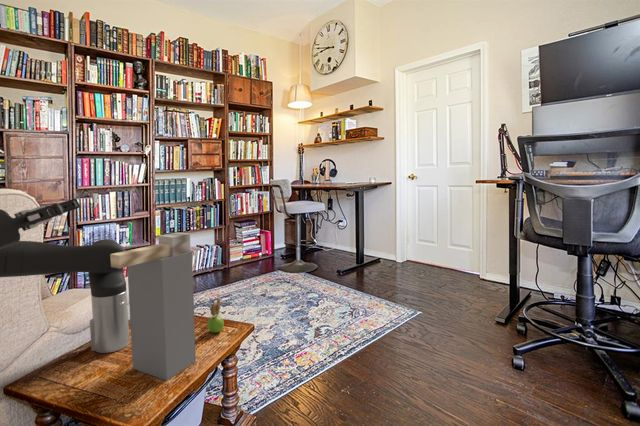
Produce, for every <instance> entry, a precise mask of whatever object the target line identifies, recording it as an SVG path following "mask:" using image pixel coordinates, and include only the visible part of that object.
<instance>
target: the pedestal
mask: <svg viewBox="0 0 640 426" xmlns="http://www.w3.org/2000/svg"><path fill="white" fill-rule="evenodd" d="M193 267H194V266H193V251H191V252H187V253H183V254H180V255H176V256H167V257H163V258H160V259H156V260H152V261H148V262H144V263H140V264H136V265H132V266H128V267H126V268H127V283H128V284H127V286H128V301H129V325H130V339H131V358H132V359H131V361H132V369H133V370H135V371H139V372H142V373H144V374H148V375H150V376H153V377H156V378H158V379H162V380H164V381H168V380H169V381H170V379H172V378H173V377H175V376H177V375H178V374H179V373H181V372H183V371H184V370H185V369H187V368H189V367H190V366H192V365H193V364H195V363H196V362H197V361H196V360H197V359H196V354H197V353H196V334H195V333H196V331H195V329H196V328H195V327H196V326H195V301H194V300H195V299H194V298H195V297H194V273H193V272H194V270H193Z"/></svg>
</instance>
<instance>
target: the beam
mask: <svg viewBox="0 0 640 426" xmlns="http://www.w3.org/2000/svg"><path fill="white" fill-rule="evenodd" d="M187 252H192V251H191V234H190V233H186V232H178V231H177V232H171V233H165V234H160V235H158V244H153V245H149V246H143V247H139V248H138V247H137V248H135V249H134V248H133V249H129V250H125V251H123V252H118V253H114V254H110V258H111V267H114V268H119V269H120V268H123V269H124V268H127V267H128V266H132V265H136V264H140V263H144V262H148V261H152V260H156V259H160V258H163V257H167V256H176V255H180V254H183V253H187Z"/></svg>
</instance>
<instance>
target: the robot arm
mask: <svg viewBox="0 0 640 426" xmlns="http://www.w3.org/2000/svg"><path fill="white" fill-rule="evenodd" d="M80 207H81V206H80V203H79V201H78V199H76V198H72V199H69V200H66V201H63V202H60V203H58V202H54V203H52V204H51V205H48V206H45V205H41V206H37V207H34V208H31V209H24V210H21V211H19V212H16V213H14V214H13V215H14V217H12V216H11V215H10V214H9V213H8V212H7V211H6V210H4V209H0V278H12V277H13V278H14V277H17V278H18V277H29V276H39V275H40V276H41V275H42V276H43V275H44V276H45V275H53V274H61V273H62V274H63V273H88V282H89V288H90V298H91V310H92V318H91V319H90V320H89V333H90V343H91V344H90V345H91V346H90V347H91V348H90V349H91V352H97V353H100V354H109V353H113V352H118V351H120V350H123V349H124V348H126V347H127V346H129V344H130V332H129V331H130V329H129V311H128V310H129V309H128V295H127V293H128V292H127V281H126V278H125V274H124V268H120V269H119V268H114V267H111V258H110V254H114V253H118V252H123V251H126V249H125V248H124V247H123V245H121V244H120V243H118V242H117V241H115V240H112V239H111V238H110V239H109V238H108V239H107V238H103V239H99V240H96V241H95V242H93V243H92V244H89V245H87V244H86V245H65V244H57V243H51V242H45V241H44V242H42V241H32V240H21V234H20V229H22V232H25V231H29V230H31V229H34V228H37V227H38V226H40V225H42V224H45V223H48V222H50V221H52V220H53V218H55V217H60V216H63V215H64V214H65V213H68V212H71V211H74V210H77V209H79V208H80Z"/></svg>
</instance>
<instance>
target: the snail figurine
mask: <svg viewBox="0 0 640 426" xmlns="http://www.w3.org/2000/svg"><path fill="white" fill-rule="evenodd" d="M216 295H217V298H216V302H213V303H212V304H211V307H210V315H211V317H210V318H209V319H208V321H207V323H206V325H207V329H208V331H209V332H211V333H214V334H216V333H220V332H221V331H222V330H223V328H224V326H225V321H224V319H223V318H222V317H221V316H220V314H219V313H220V312H221V310H220V309H221V295H222V294H220V293H219V294H216Z"/></svg>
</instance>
